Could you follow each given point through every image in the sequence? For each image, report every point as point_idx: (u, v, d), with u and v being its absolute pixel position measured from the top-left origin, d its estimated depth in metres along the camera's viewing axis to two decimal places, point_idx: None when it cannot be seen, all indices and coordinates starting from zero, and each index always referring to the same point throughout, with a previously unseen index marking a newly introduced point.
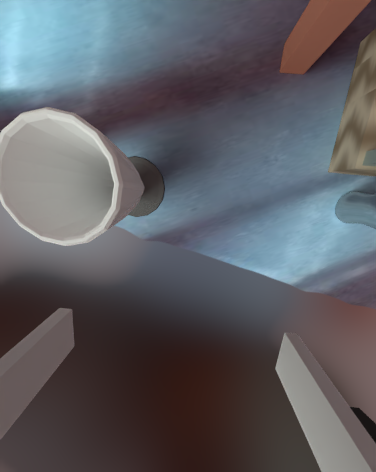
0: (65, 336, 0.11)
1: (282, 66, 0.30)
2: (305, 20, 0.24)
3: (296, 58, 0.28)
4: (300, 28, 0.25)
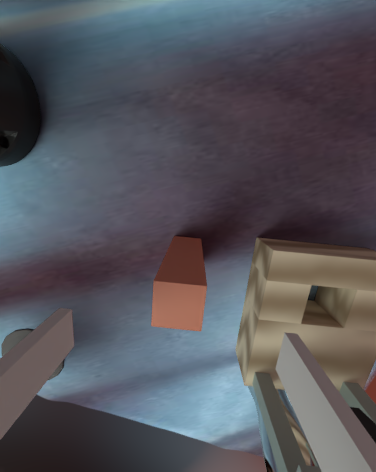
0: (65, 336, 0.11)
1: None
2: None
3: None
4: None
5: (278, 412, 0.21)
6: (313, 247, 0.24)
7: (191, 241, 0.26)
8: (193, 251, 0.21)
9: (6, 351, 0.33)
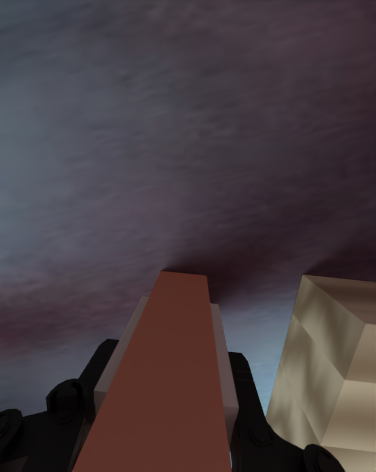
0: None
1: None
2: None
3: None
4: None
5: None
6: None
7: (190, 285, 0.14)
8: (194, 323, 0.10)
9: None
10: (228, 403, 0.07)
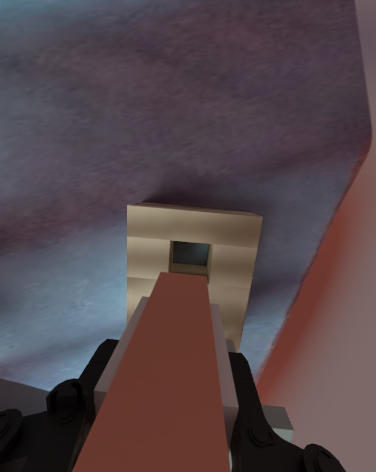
0: None
1: None
2: None
3: None
4: None
5: None
6: (184, 207, 0.25)
7: (190, 286, 0.14)
8: (193, 325, 0.10)
9: None
10: (228, 403, 0.07)
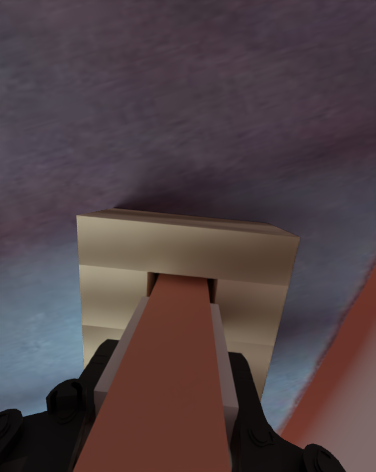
0: None
1: None
2: None
3: None
4: None
5: None
6: (172, 218, 0.16)
7: (190, 286, 0.14)
8: (194, 325, 0.10)
9: None
10: (228, 403, 0.07)
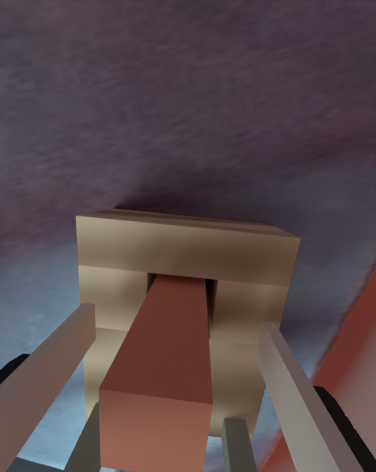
0: (89, 329, 0.12)
1: None
2: None
3: None
4: None
5: None
6: (172, 218, 0.16)
7: None
8: (192, 287, 0.14)
9: None
10: (350, 468, 0.06)
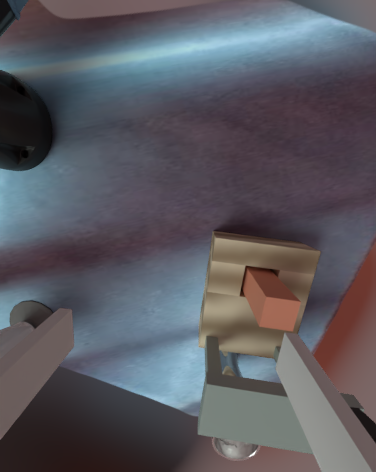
0: (65, 336, 0.11)
1: None
2: (247, 282, 0.29)
3: None
4: (245, 279, 0.30)
5: (215, 359, 0.28)
6: (252, 238, 0.32)
7: None
8: (267, 273, 0.29)
9: (13, 319, 0.41)
10: None
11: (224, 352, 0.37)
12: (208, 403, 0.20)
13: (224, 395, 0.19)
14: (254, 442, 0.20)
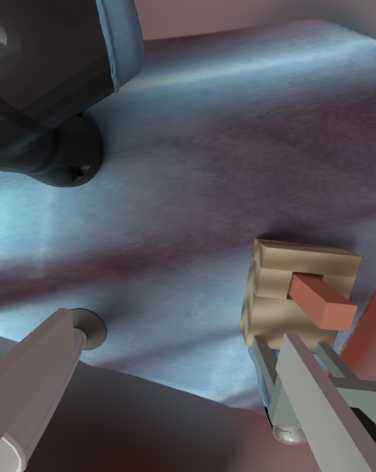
0: (65, 336, 0.11)
1: None
2: (295, 287, 0.32)
3: None
4: (291, 283, 0.33)
5: (269, 357, 0.31)
6: (295, 245, 0.34)
7: None
8: (313, 278, 0.32)
9: None
10: None
11: None
12: (284, 397, 0.23)
13: None
14: None
